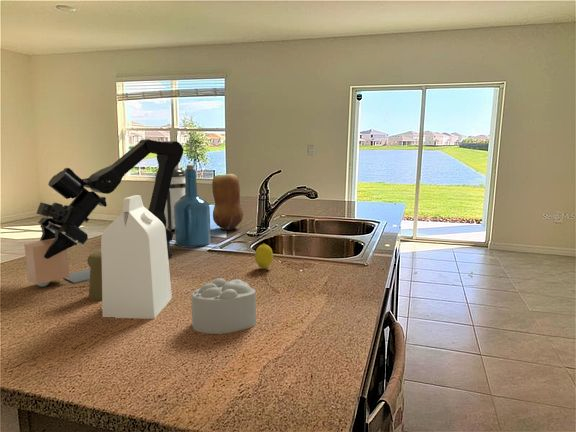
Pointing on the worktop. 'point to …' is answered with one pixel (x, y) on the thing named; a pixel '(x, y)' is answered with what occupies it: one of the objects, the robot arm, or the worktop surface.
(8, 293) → the worktop surface
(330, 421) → the worktop surface
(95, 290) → the cork
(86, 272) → the coaster
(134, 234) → the milk
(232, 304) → the lumpy-topped squat cylinder
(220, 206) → the butternut squash
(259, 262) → the lemon
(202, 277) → the worktop surface
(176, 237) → the wine bottle
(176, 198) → the coffee press
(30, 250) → the pink rectangular block
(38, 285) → the marble
